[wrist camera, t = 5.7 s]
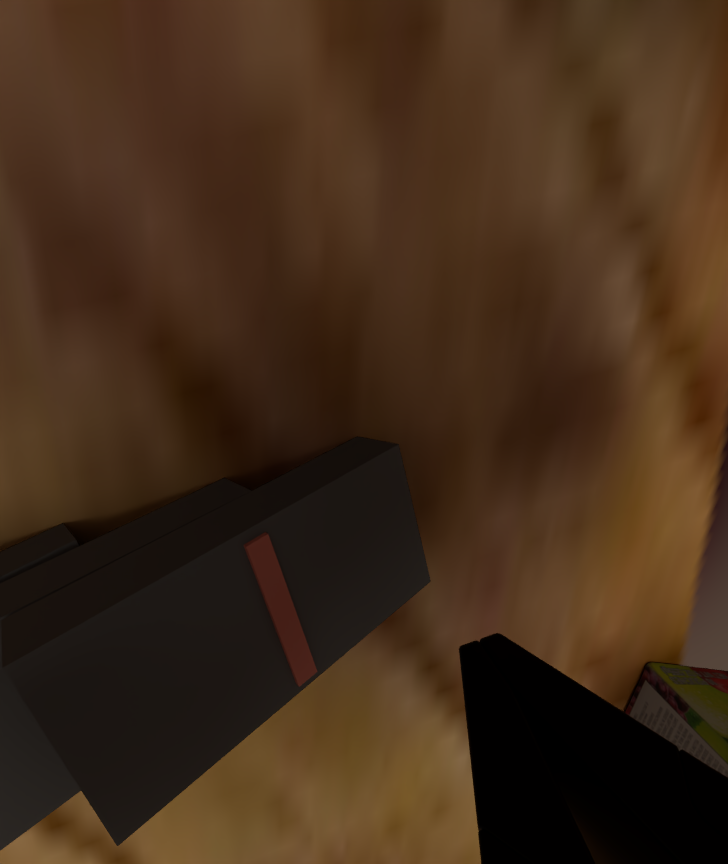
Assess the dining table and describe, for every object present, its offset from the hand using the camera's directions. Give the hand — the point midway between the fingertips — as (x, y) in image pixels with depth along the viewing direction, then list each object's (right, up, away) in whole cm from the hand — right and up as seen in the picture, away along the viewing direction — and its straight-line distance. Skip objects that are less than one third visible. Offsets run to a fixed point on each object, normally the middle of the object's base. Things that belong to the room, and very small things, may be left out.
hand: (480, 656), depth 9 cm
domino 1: (-1, +2, +6) cm, 7 cm away
